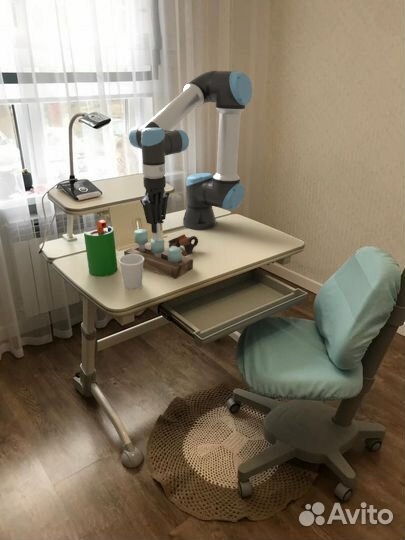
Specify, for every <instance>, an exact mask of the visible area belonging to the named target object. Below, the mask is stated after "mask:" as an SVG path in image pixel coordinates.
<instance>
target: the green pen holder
mask: <svg viewBox="0 0 405 540" xmlns="http://www.w3.org/2000/svg"><path fill="white" fill-rule="evenodd" d="M106 228H107V230H105V229H106ZM96 229H97V230H93V231H92V232H91V231H90V233H87V231H83V236H84V243H85V251H86V259H87V266H88V272H89V274H90V275H91V276H92V277H98V278H102V277H103V278H104V277H109V276H113V275H114V274H116V273H118V269H119V268H118V261H117V249H116V239H115V232H114V227H113V226H110V225H107V221H106V220H105V219H100V220H97V223H96Z"/></svg>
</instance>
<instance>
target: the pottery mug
mask: <svg viewBox="0 0 405 540" xmlns="http://www.w3.org/2000/svg"><path fill="white" fill-rule="evenodd" d="M192 241H194V242H193V243H192ZM167 243H168V247H169V248H171V247H179V248H181V246H182V247H183V248H184V250H181V254H182V256H185V257H188V256H189V255H192V254H194V248H195V247H197V246H198V243H199V238H198V237H197V236H195V235H191V236H189V237H187V236H186V234H185V233H184V234H182V235H181V234H180V235H179V236H177V237H174V238H172V239H169V240H168V241H167Z"/></svg>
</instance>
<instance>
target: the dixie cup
mask: <svg viewBox="0 0 405 540" xmlns="http://www.w3.org/2000/svg"><path fill="white" fill-rule="evenodd" d="M118 262H119V264H120V271H121V274H122V278H123V284H124V287H125V289H127V290H131V291H133V290H138V289H141V288H142V285H143V274H144V273H143V272H144V267H143V262H144V257H143V256H141V255H138V254H128V255H124V254H123V255H122V256H121V257H119V259H118Z"/></svg>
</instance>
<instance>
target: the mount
mask: <svg viewBox="0 0 405 540" xmlns="http://www.w3.org/2000/svg"><path fill="white" fill-rule="evenodd" d="M128 254H138V255H141V256H143V257H144V262H143V269H147V270H150V271H153V272H156V273H158V274H161V275H164V276H167V277H169V278H172V279H175V280H177V279H178V278H180V277H182V276H183V275H185V274H187V273H188V272H190V271H193V268H194V259H193V258H192V257H188V256H182V260H181V261H180V262H178V264H176V263H171V262H169V261H168V253H167V250H166V249H164V252H162V253H161V258H158V257H155V253H152V252H151V244H148V243H145V252H140V251H139V246H138V244H137V245H135V246H132V247H130V248H128V249H126V250H124V251H123V256H124V255H128Z"/></svg>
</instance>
